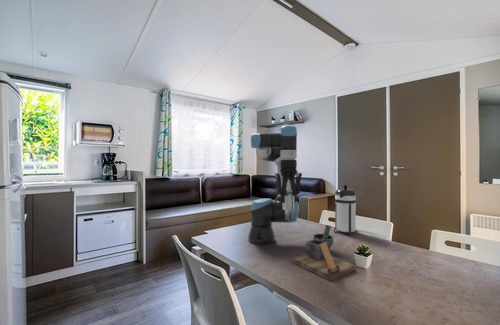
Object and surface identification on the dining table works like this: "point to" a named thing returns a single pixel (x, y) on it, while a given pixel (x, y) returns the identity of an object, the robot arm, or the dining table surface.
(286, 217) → the pin
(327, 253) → the strip
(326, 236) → the mortar and pestle
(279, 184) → the robot arm
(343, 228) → the coffee press
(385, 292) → the dining table surface
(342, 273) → the hitch board
